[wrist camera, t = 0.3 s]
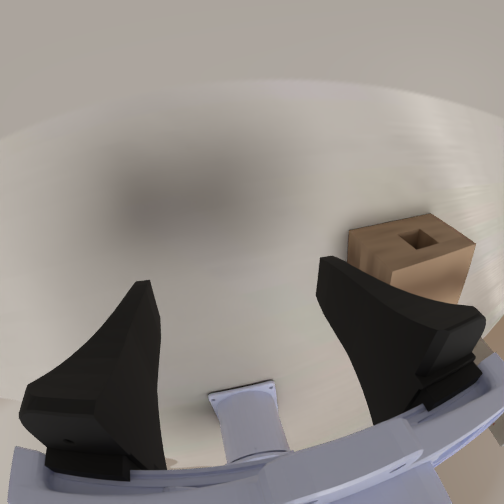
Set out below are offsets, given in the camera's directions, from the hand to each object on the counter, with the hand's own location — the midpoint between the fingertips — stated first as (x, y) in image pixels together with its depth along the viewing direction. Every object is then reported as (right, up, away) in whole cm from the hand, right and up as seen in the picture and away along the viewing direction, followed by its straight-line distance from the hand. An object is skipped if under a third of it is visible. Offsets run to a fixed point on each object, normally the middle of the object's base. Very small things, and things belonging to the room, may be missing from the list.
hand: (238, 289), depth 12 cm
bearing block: (+14, +1, +14) cm, 20 cm away
